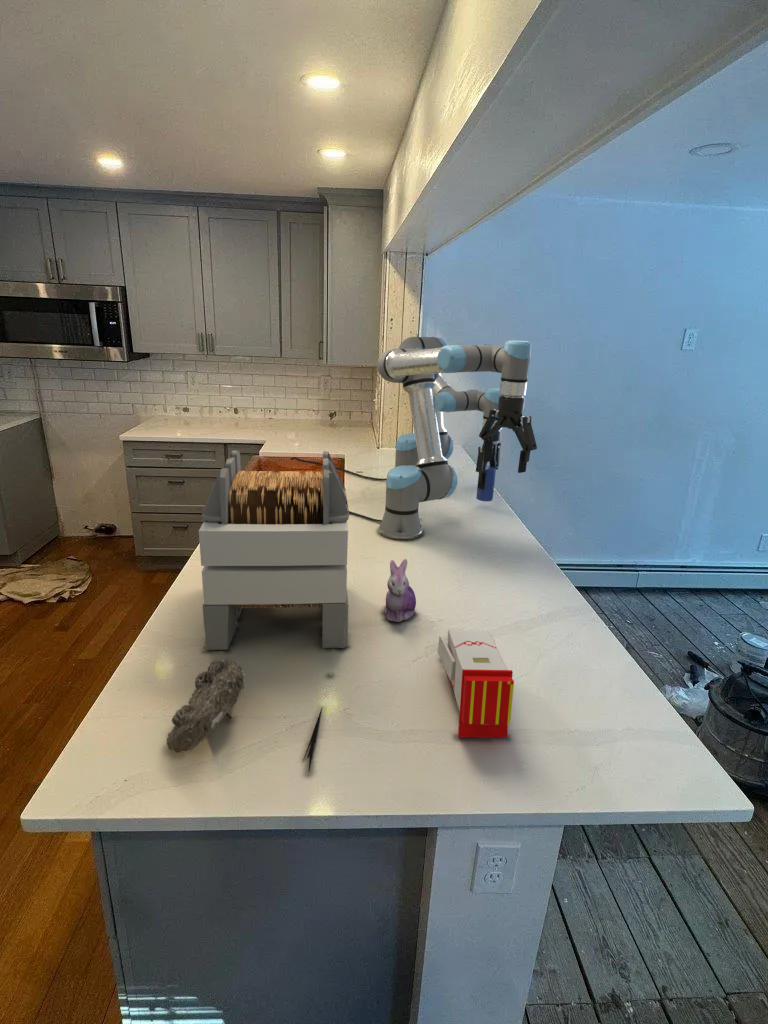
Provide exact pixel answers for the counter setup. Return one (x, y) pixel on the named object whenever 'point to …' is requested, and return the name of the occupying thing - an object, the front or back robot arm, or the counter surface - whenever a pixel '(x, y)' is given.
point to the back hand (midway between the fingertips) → (485, 486)
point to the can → (487, 485)
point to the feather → (313, 740)
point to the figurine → (399, 594)
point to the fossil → (206, 705)
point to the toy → (478, 682)
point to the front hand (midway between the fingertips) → (503, 466)
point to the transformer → (274, 548)
